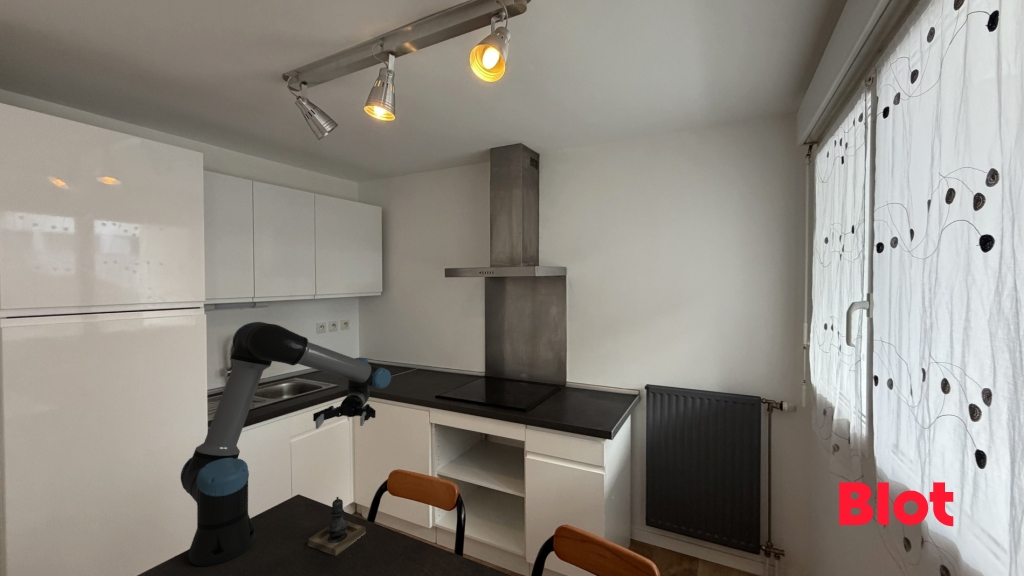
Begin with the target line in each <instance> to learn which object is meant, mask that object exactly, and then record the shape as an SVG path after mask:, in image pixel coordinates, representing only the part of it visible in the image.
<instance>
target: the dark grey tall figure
mask: <svg viewBox="0 0 1024 576" xmlns="http://www.w3.org/2000/svg"><path fill="white" fill-rule="evenodd" d="M331 504H332V505H331V506H332V508H331V510H332V511H331V512H330V515H331V522H330V523H328V524H327V525H326V527H327V531H328V533H329V535H330V536H329V537H328V542H330V543H339V542H341V541H342V540H344V539H345V538H346V537H347V533H346V532H345V531H346V529H347V526H348V522H349V521H348V520H346V519H344V513H345V510H344V507H343V506H344V502H343V499H341V498H340V497H339V496H336V499H335V500H333V501H332V503H331Z"/></svg>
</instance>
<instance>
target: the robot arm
mask: <svg viewBox="0 0 1024 576" xmlns="http://www.w3.org/2000/svg"><path fill="white" fill-rule="evenodd" d="M232 346H233V350H232V353H231V355H230V358H229V361H231V364H232V368H231V371H230V374H229V376H228V379H227V381H226V384H225V385H224V389H223V391H222V394H221V397H220V399H219V402H218V405H217V407H216V411H215V413H214V415H213V418H212V421H211V424H210V426H209V429H208V430H207V435H206V436H205V438H204V442H203V443H202V444H199V445H197V446H196V447H195V450H194V451H193V454H192V456H191V457H190V458H189V459H187V461H186V463H185V464H184V465H183V467H182V468H181V471H180V483H181V486H182V488H183V489H184V490H185V492H186V493H187V494H189V495H190V497H192V499H193V501H195V503H196V506H197V507H196V508H197V509H196V516H197V517H196V523H197V524H196V525H197V528H196V530H195V533H194V536H193V538H192V541H191V545H190V547H189V550H190V551H189V550H188V562H189V561H190V562H191V563H192V565H193V564H194V566H196V565H198V566H197V567H209V566H210V567H211V566H214V565H220V564H222V563H225V562H228V561H231V560H232V559H234V558H236V557H239V556H240V555H242V554H243V553H246V551H248V550H249V549H250V548H251V547H252V546H253V544H254V543H255V541H256V529H255V525H253V522H252V520H251V518H250V515H249V476H250V474H249V473H250V472H249V467H248V463H247V462H246V461H245V460H243V459H241V458H239V455H240V449H239V447H238V445H237V444H238V442H239V439H240V436H241V434H242V431H243V428H244V426H245V422H246V420H247V417H248V414H249V411H250V409H251V406H252V403H253V400H254V397H255V395H256V392H257V389H258V386H259V384H260V381H261V378H262V376H263V373H264V371H265V370H266V369H268V368H270V367H271V365H272V362H276V363H282V364H286V365H289V366H296V365H300V366H304V367H308V368H309V369H310V368H311V369H313V370H318V371H321V372H323V373H326V374H330V375H334V376H336V377H340V378H343V379H347V395H346V397H344V399H343V400H342V401H341V403H340V405H339V406H336V407H334V405H330V406H328V407H327V408H324V409H322V410H319V411H317V412H314V413H312V416H313V417H312V418H313V419H312V421H313V422H315V429H316V430H317V429H319V428H320V427H321V426H322V424H323V423H324V422H325V421H326V420H330V419H332V418H341V417H348V418H355V417H359V426H360V427H362V426H364V424H365V422H366V421H369V420H370V418H372V419H375V418H376V409H374V408H373V407H372V406H370V404H369V403H367V402H368V401H369V399H370V389H369V387H371V388H375V389H378V390H379V389H381V390H382V389H385V388H387V387H388V386H389V384H390V383H391V380H392V375H391V372H390V371H389V369H386V368H384V367H378V366H376V365H374V364H370V363H369V359H368V358H367V357H366V358H365V357H355V358H354V357H351V356H348V355H345V354H343V353H341V352H340V353H339V352H337V351H335V350H332V349H329V348H326V347H323V346H321V345H318V344H315V343H312V342H309V339H308V338H307V337H306V336H305V337H304V336H303V335H300V334H298V333H296V332H293V331H291V330H289V329H288V328H286V327H284V326H281V325H279V324H275V323H267V322H263V321H254V322H249V323H246V324H244V325H242V326H240V327H238V329H237V330H236V331H235V333H234V335H233V337H232ZM190 562H189V563H190ZM191 563H190V564H191Z"/></svg>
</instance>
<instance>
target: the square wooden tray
mask: <svg viewBox="0 0 1024 576" xmlns="http://www.w3.org/2000/svg"><path fill="white" fill-rule="evenodd" d="M366 529H367V528H366V526H363V525H360V524H357V523H353V522H351V521H348V526H347V529H346V531H345V532H346V533H347V537H346V538H345V539H344V540H342V541H341V542H339V543H330V542H328V537H329V536H330V535H329V533H328V531H327V526H325V527H324V528H322V529H321V530H320V531H318V532H317V533H315V534H314V535H312V536H311V537H309V538H307V546H308V547H311V548H313V549H315V550H319V551H321V552H324V553H326V554H329V555H332V556H334V557H337V556H338V555H340V553H342V552H343V551H345V550H346V549H348V548H349V547H350V546H351V545H352V544H354V543H355V542H356V541H358V540H359V539H360V538H362V537H363V536H365V534H367V533H366V531H367V530H366ZM361 536H362V537H361ZM357 539H358V540H357Z"/></svg>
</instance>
